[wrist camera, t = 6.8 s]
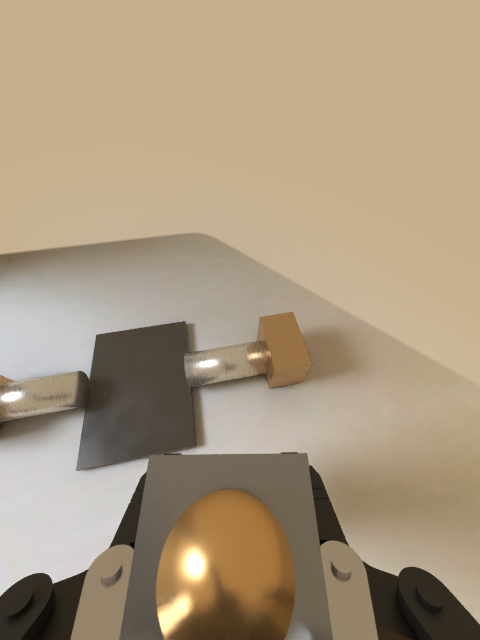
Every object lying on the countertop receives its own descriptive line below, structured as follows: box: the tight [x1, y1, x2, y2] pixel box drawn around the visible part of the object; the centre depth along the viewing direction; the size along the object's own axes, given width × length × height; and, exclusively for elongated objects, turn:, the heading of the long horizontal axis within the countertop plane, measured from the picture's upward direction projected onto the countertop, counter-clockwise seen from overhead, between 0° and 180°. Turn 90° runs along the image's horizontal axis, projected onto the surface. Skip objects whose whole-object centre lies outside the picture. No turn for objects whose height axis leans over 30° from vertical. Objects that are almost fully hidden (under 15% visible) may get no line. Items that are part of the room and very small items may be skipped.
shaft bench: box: [0, 312, 312, 471], centre depth 21 cm, size 29×12×4 cm, turn 101°
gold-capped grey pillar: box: [119, 453, 333, 640], centre depth 9 cm, size 4×4×10 cm
